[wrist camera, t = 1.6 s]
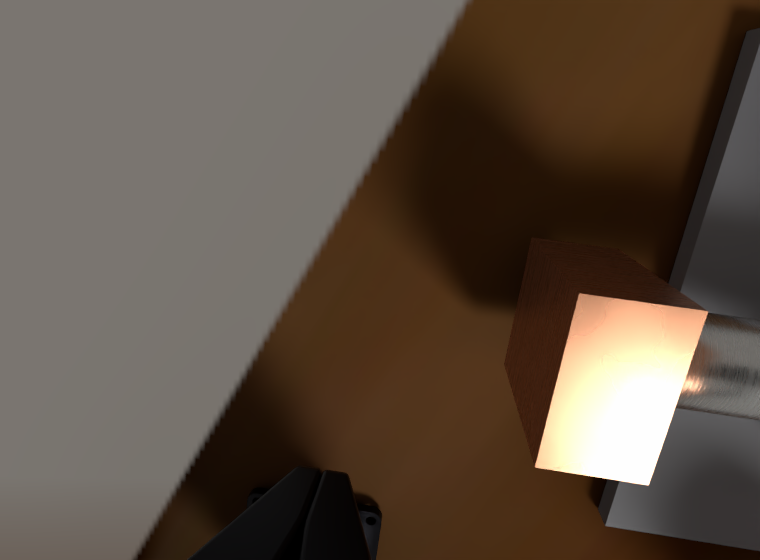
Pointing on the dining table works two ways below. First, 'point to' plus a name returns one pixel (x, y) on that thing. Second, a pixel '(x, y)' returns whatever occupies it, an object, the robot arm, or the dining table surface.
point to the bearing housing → (720, 296)
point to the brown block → (618, 361)
